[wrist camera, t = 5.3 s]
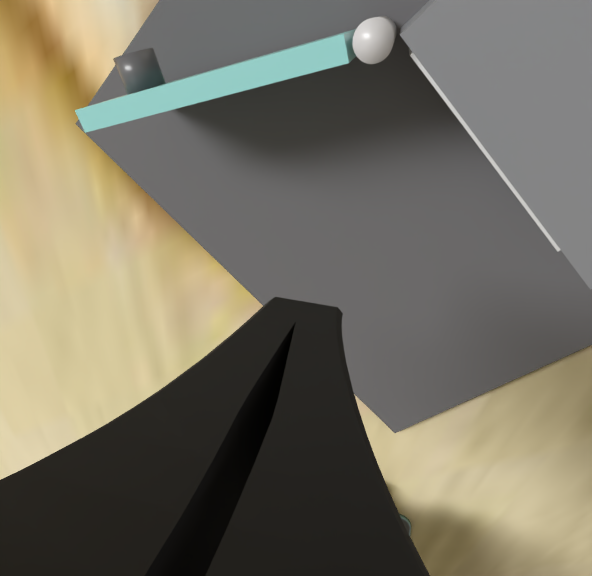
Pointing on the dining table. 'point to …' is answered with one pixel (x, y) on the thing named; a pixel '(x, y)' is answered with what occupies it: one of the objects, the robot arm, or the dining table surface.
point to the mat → (353, 203)
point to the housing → (521, 101)
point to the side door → (232, 74)
